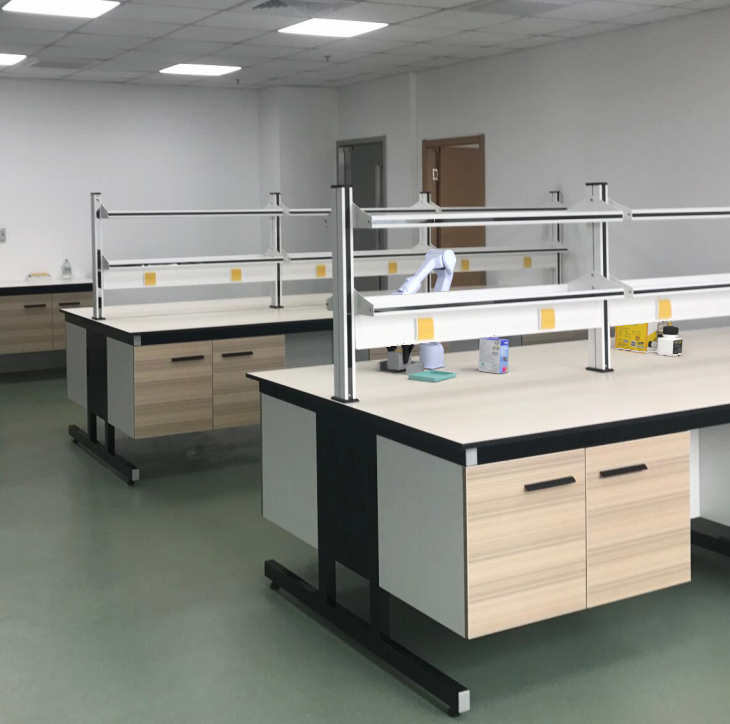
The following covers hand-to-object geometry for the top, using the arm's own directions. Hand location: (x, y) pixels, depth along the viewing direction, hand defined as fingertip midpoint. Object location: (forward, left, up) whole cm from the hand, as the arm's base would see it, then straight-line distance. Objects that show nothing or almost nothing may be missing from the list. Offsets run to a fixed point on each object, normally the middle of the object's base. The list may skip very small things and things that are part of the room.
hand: (399, 362), depth 351 cm
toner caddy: (0, 0, -2) cm, 2 cm away
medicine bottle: (-101, +63, -4) cm, 119 cm away
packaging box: (-110, +48, -4) cm, 120 cm away
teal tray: (+4, +17, -3) cm, 18 cm away
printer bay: (0, 0, -3) cm, 3 cm away
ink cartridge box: (-21, +27, -4) cm, 34 cm away
